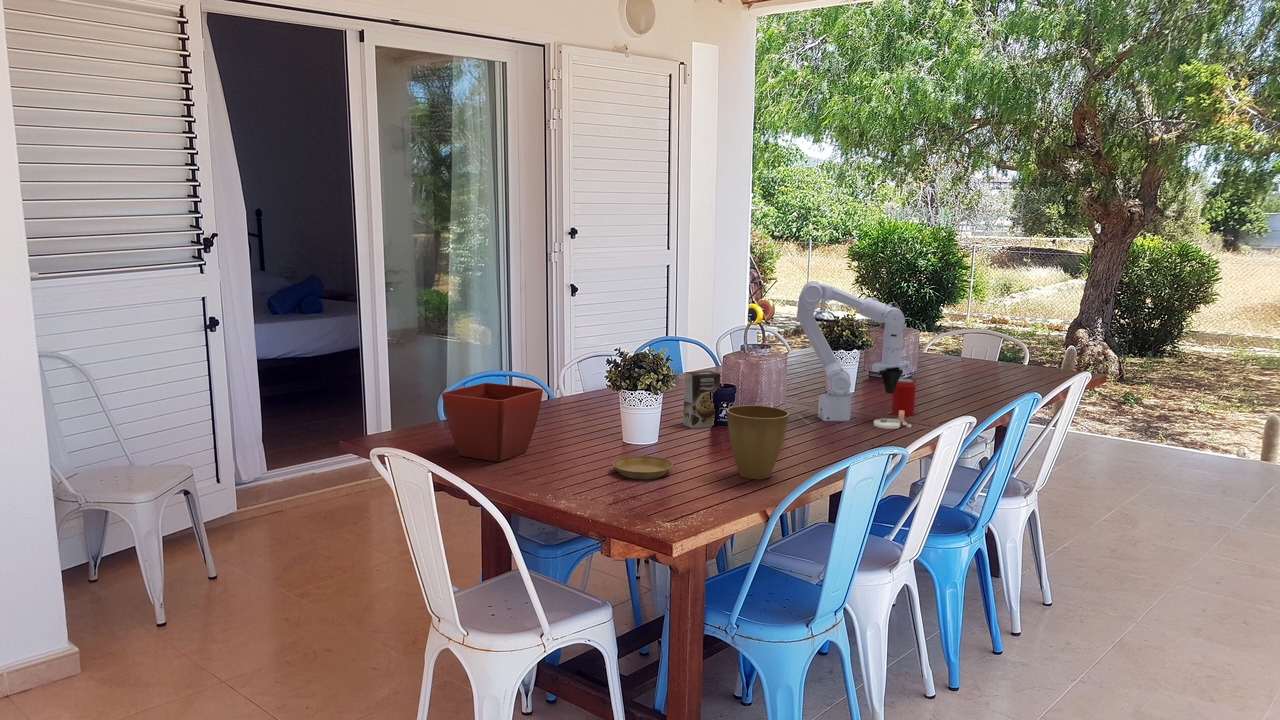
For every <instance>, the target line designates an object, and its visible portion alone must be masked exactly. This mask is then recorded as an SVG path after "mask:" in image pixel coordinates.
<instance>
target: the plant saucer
mask: <svg viewBox="0 0 1280 720" xmlns="http://www.w3.org/2000/svg"><path fill="white" fill-rule="evenodd" d="M612 466H613V468H614V469H615V470H616V472H617V473H618V474H620V475H621V476H623V477H625V478H629V479H635V480H651V479H658V478H661V477H663V476H665V475H666V474H667V473H668V472H669V471H670V470H671V469H672V467H673V466H674V464H673V461H671V460H669V459H667V458H664V457H660V456H654V455H653V456H652V455H630V456H623V457H619V458H617V459H615V460H613V461H612Z"/></svg>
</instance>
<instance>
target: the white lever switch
mask: <svg viewBox="0 0 1280 720" xmlns="http://www.w3.org/2000/svg"><path fill="white" fill-rule="evenodd" d="M904 412H905V411H903V410H899V416H898V417H897V418H886V417H880V418H879V419H874V420H873V427H875V428H879V429H886V430H887V429H888V430H895V429H899V428H901V423H905V421H906V420H905V416H904Z"/></svg>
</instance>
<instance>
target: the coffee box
mask: <svg viewBox="0 0 1280 720" xmlns="http://www.w3.org/2000/svg"><path fill="white" fill-rule="evenodd" d="M718 386H720V387H718ZM717 388H720V389H721V373H720V372H717V371H716V372H715V371H713V370H704V371H703V370H702V371H685V372H684V388H683V389H684V390H683V391H684V392H683V393H684V394H683V411H682V412H683V413H682V414H683V416H682V417H683V418H682V422H683V423H682V425H683V426H685V427H688V428H690V429H692V430H693V429H702V428H704V429H705V428H713V427H712V426H713V425H714V420H715V418H714V417H715V409H714V403H713V393H714V392H715V391H716V390H717ZM710 392H711V399H710ZM712 392H713V393H712Z"/></svg>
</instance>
